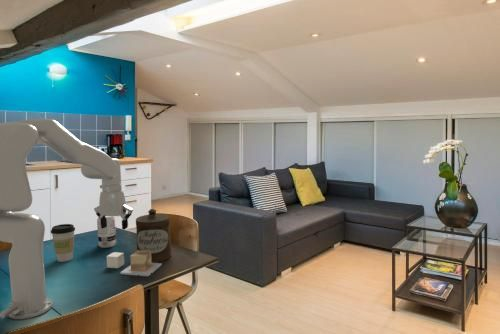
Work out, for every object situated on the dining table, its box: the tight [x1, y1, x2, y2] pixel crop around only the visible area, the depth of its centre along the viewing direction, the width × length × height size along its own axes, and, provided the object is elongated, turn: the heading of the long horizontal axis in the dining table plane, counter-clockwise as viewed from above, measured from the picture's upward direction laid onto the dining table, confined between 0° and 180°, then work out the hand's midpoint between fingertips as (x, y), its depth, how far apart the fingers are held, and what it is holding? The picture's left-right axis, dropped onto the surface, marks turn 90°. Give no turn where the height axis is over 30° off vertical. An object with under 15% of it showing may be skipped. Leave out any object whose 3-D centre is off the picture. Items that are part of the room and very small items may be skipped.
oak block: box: [129, 250, 153, 271], centre depth 153 cm, size 6×6×6 cm
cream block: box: [106, 251, 125, 269], centre depth 158 cm, size 5×5×5 cm
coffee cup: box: [50, 223, 76, 262], centre depth 166 cm, size 10×10×15 cm
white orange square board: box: [120, 262, 163, 277], centre depth 153 cm, size 12×12×1 cm
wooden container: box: [135, 208, 172, 263], centre depth 167 cm, size 15×15×22 cm
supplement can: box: [96, 216, 117, 249], centre depth 184 cm, size 8×8×15 cm
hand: (114, 228), depth 156 cm, fingers open, 9 cm apart
